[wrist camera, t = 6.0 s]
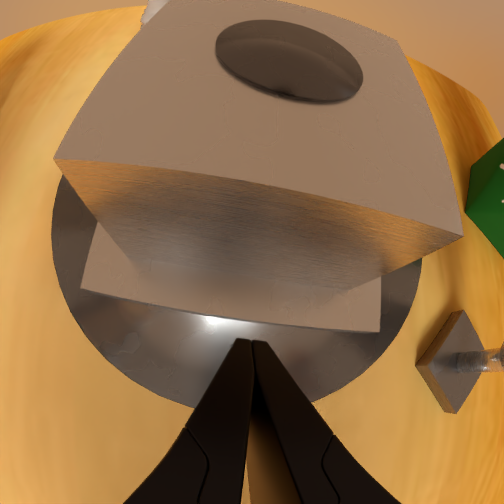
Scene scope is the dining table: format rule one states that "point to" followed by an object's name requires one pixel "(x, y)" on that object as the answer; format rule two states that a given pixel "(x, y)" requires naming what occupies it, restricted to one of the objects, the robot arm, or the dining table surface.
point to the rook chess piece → (152, 10)
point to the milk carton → (488, 195)
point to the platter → (209, 325)
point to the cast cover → (258, 167)
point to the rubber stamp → (457, 362)
